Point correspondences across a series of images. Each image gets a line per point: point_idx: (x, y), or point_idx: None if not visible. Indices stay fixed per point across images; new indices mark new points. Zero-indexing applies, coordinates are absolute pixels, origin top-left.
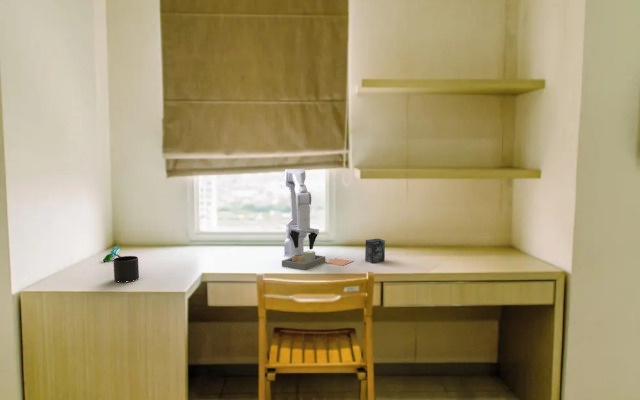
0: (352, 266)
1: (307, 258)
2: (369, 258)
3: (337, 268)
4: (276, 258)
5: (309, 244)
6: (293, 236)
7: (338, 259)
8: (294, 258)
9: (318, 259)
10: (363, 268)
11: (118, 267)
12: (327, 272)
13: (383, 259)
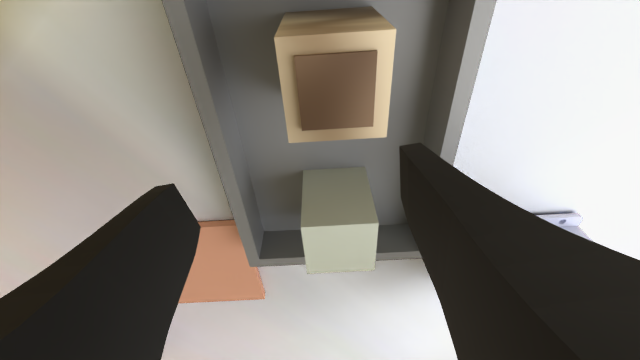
0: None
1: (332, 190)
2: None
3: (90, 183)
4: (620, 157)
5: (120, 230)
6: (561, 296)
7: (234, 292)
8: (354, 24)
9: (229, 202)
10: (11, 251)
11: None
12: (7, 55)
13: None
